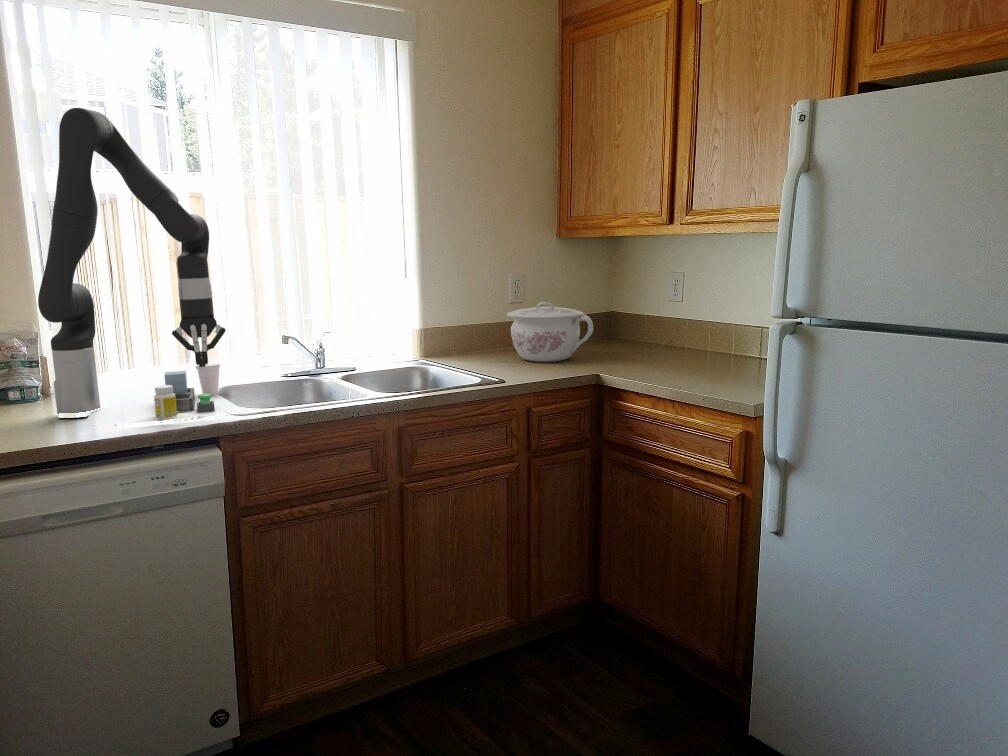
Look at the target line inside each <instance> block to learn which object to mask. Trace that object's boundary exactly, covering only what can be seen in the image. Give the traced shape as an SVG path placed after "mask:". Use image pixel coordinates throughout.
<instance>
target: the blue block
mask: <svg viewBox="0 0 1008 756" xmlns="http://www.w3.org/2000/svg"><path fill="white" fill-rule="evenodd" d="M164 384H165V385H172V386H173V392H172V393H174V394H179V393H188V388H189V387H188V378H187V370H177V371H166V372H164Z"/></svg>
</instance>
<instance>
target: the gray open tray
mask: <svg viewBox="0 0 1008 756" xmlns="http://www.w3.org/2000/svg"><path fill="white" fill-rule="evenodd" d="M187 388H188V393H179V394H175V397H176V407H177V411H180V412H179V413H182V412H183V413H184V412H194V411H195V407H196V399H195V398H196V396H195V395H196V394H195V387H187Z"/></svg>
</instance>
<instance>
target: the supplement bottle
mask: <svg viewBox="0 0 1008 756" xmlns="http://www.w3.org/2000/svg"><path fill="white" fill-rule="evenodd" d="M154 392H155V395H154V398H153V399H154V408H155V416H156V418H159V417H160V418H161V419H164V417H165V418H172V416H173V417H176V416H177V415H178V412H177V407H176V397H175V394H174V393H172V392H173V386H172V385H157V386H154Z"/></svg>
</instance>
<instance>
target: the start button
mask: <svg viewBox="0 0 1008 756" xmlns="http://www.w3.org/2000/svg"><path fill="white" fill-rule="evenodd" d="M212 397H213V395H212V394H203V393H201V394H198V395H197V398H198V399H199V402H200V405H201V404H211V402H210V401H211V398H212Z"/></svg>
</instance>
